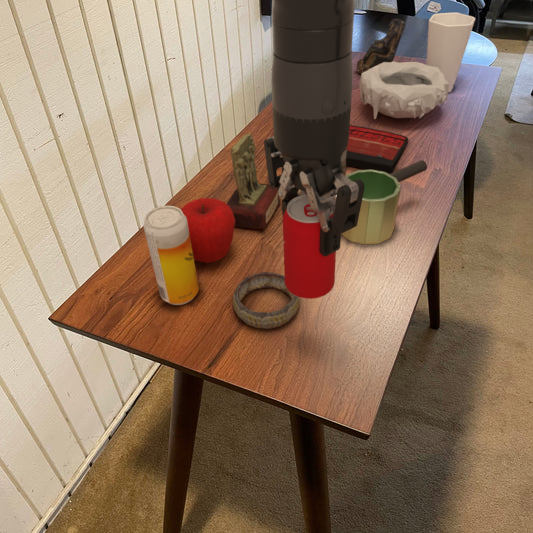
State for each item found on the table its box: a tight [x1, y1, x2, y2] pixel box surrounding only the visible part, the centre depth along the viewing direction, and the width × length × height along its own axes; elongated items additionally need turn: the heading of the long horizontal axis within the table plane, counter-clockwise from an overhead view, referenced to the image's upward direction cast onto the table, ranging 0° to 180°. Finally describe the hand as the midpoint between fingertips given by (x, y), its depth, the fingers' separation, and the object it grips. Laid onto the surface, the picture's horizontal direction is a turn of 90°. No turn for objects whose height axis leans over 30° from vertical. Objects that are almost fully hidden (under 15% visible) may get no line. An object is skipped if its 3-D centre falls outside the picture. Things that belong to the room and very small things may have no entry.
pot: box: [341, 159, 428, 245], centre depth 90 cm, size 18×10×9 cm, turn 125°
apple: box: [180, 197, 236, 264], centre depth 84 cm, size 10×10×11 cm
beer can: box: [142, 205, 200, 306], centre depth 76 cm, size 6×6×15 cm
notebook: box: [346, 124, 409, 174], centre depth 113 cm, size 16×2×21 cm
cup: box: [425, 12, 476, 93], centre depth 130 cm, size 11×10×17 cm
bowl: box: [358, 60, 449, 120], centre depth 122 cm, size 21×20×10 cm
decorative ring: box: [232, 271, 301, 330], centre depth 77 cm, size 10×3×10 cm
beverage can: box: [282, 195, 337, 300], centre depth 61 cm, size 6×6×12 cm
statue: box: [355, 18, 406, 75], centre depth 139 cm, size 6×12×15 cm, turn 67°
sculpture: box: [226, 133, 281, 230], centre depth 91 cm, size 10×8×15 cm
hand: (309, 237), depth 60 cm, fingers closed on beverage can, 6 cm apart
